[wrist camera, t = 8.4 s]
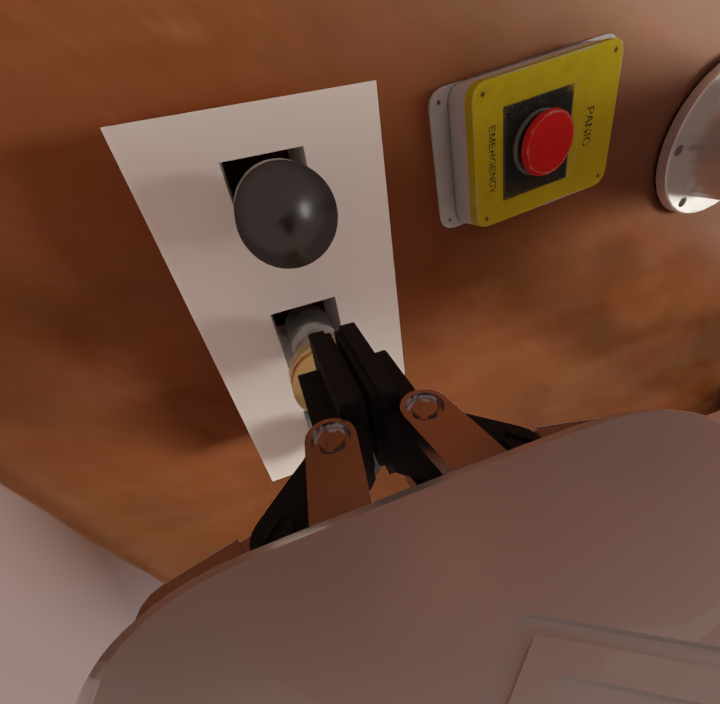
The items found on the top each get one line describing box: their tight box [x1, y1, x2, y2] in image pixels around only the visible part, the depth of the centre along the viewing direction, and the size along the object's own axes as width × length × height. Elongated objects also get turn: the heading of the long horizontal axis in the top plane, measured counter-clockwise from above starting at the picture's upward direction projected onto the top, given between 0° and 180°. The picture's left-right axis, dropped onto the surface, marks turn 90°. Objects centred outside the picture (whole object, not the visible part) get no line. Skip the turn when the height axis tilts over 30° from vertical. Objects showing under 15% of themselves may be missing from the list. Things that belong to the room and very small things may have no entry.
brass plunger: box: [285, 304, 336, 412], centre depth 20 cm, size 4×4×7 cm
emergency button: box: [428, 34, 624, 228], centre depth 25 cm, size 9×4×15 cm
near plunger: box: [233, 158, 338, 269], centre depth 16 cm, size 4×4×7 cm
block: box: [100, 80, 405, 481], centre depth 24 cm, size 12×24×6 cm, turn 9°
